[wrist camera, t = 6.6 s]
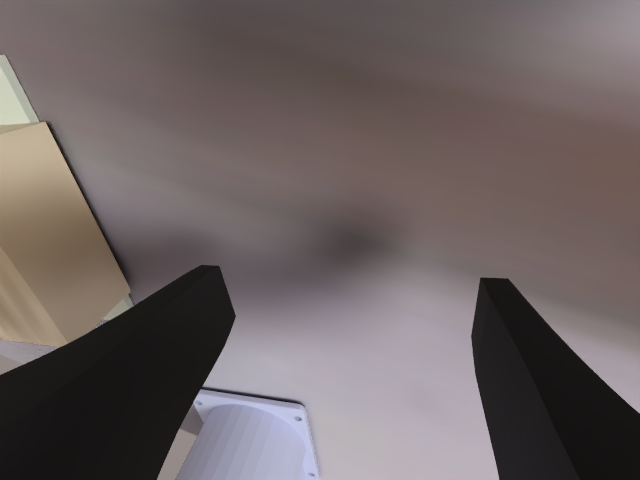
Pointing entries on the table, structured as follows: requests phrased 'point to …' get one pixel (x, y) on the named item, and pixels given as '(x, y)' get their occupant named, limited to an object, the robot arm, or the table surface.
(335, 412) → the table surface
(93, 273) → the birch slab
